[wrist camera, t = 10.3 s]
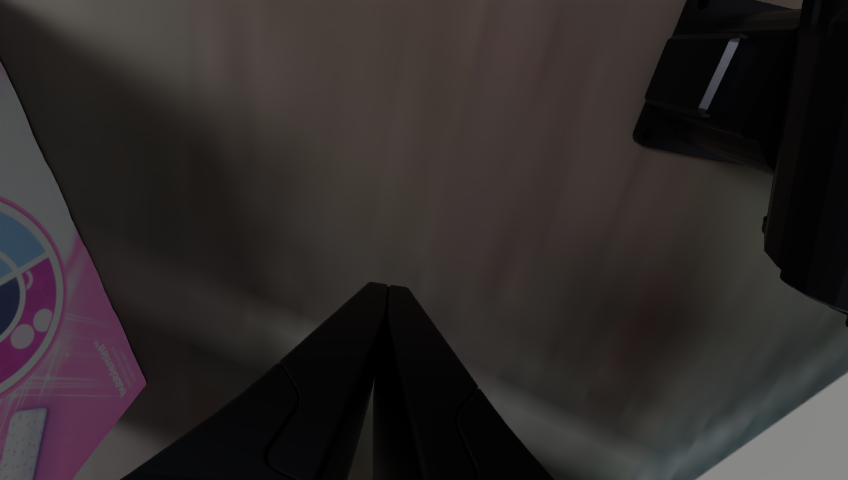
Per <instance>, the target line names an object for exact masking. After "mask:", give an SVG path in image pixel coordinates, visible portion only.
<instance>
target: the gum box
mask: <svg viewBox="0 0 848 480" xmlns="http://www.w3.org/2000/svg"><path fill="white" fill-rule="evenodd" d="M146 384H147V383H146V381H145V378H144V376H143V374H142V372H141V370H140V367H139V365H138V363H137V361H136V359H135V357H134V354H133V352H132V350H131V347H130V345H129V342H128V340H127V337H126V335H125V333H124V330H123V328H122V326H121V323H120V321H119V319H118V317H117V315H116V313H115V312H114V310H113V308H112V306H111V304H110V302H109V299H108V297H107V295H106V293H105V291H104V288H103V285H102V283H101V280H100V277H99V275H98V273H97V270H96V268H95V266H94V264H93V262H92V259H91V257H90V255H89V253H88V251H87V249H86V247H85V246H84V244H83V242H82V240H81V238H80V236H79V234H78V232H77V230H76V227H75V225H74V223H73V221H72V219H71V217H70V214H69V210H68V207H67V205H66V203H65V200H64V198H63V196H62V194H61V191H60V189H59V186H58V184H57V182H56V180H55V178H54V176H53V174H52V172H51V170H50V169H49V167H48V165H47V163H46V162H45V160H44V157H43V155H42V153H41V151H40V149H39V147H38V145H37V142H36V140H35V138H34V136H33V134H32V131H31V128H30V126H29V123H28V120H27V118H26V115H25V113H24V110H23V108H22V106H21V104H20V101H19V99H18V97H17V94H16V92H15V90H14V88H13V86H12V84H11V82H10V80H9V78H8V76H7V74H6V71H5V69H4V67H3V66H2V64H1V62H0V480H72V479H73V478H74V476H75V475H76V474H77V473H78V471H79V470H80V469H81V467H82V466H83V465H84V463H85V462H86V460H87V459H88V458H89V456H90V455H91V454H92V452H93V451H94V450H95V448H96V447H97V446H98V445H99V443H100V442H101V441H102V440H103V438H104V437H105V436H106V435H107V433H108V432H109V431H110V430H111V429H112V427H113V426H114V425H115V424H116V422H117V421H118V420H119V419H120V417H121V416H122V415H123V413H124V412H125V411H126V410H127V408H128V407H129V406H130V405H131V403H132V402H133V401H134V400H135V398H136V397H137V395H138V394H139V393H140V392H141V390H142V389H143V388H144V387H145V386H146Z"/></svg>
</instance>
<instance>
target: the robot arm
mask: <svg viewBox="0 0 848 480" xmlns="http://www.w3.org/2000/svg"><path fill="white" fill-rule="evenodd" d="M697 2H698V0H687V1H686V3H685V6H684V8H683V11H682V13H681V16H680V18H679V21H678V23H677V26H676V28H675V30H674V33H673V35H672V37H671V38H670V39H668V40H667V42H666V45H665V47H664V50H663V52H662V55H661V57H660V60H659V62H658V65H657V67H656V70H655V72H654V75H653V77H652V79H651V82H650V84H649V87H648V89H647V92H646V94H645V100H646V102H645V104H644V107H643V109H642V112H641V114H640V117H639V119H638V122H637V124H636V126H635V129H634V131H633V140H634V141H635V142H636V143H638V144H641V145H643V146H648V147H653V148H658V149H663V150H668V151H674V152H679V153H684V154H689V155H694V156H699V157H704V158H709V159H715V160H720V161H725V162H730V163H735V164H740V165H745V166H749V167H752V168H754V169H757V170H760V171H762V172H765V173H768V174H771V175H773V176H774V178H773V184H772V190H771V196H770V202H769V208H768V214H767V216H765V217H764V218H763V224H762V232H763V233H764V251H765V252H766V253H767V254H768V256H769V257H770V258H771V259H772V260H773V262H774V263H775V264H776V265H777V266H778V267H779V268H780V269H781V274H780V278H781V280H782V281H784V282H785V283H786V284H788V285H789V286H791V287H792V288H794V289H796V290H797V291H799V292H801V293H802V294H804V295H806V296H807V297H809V298H811V299H814V300H816V301H818V302H821V303H823V304H825V305H827V306H829V307H830V308H832V309H835V310H837V311H839V312H841V313H843V314H846V315H847V319H846V322H845V324H846V326H847V327H848V0H803V3H802V9H789V8H785V7H781V6H777V5H773V4H769V3H764V2H760V1H756V0H703V6H702V7H701V9H698V8H697ZM646 130H648V131H649V132H648V135H647V137H645V138H644V139H643V138H642V134H643V132H644V131H646ZM374 377H375V378H374ZM373 383H374V388H373ZM372 388H373V480H554V479H553V478H552V476H551V475H550V474H549V473H548V472H547V471H546V470H545V469H544V467H543V466H542V465H541V464H540V463H539V462H538V461H537V460H536V458H535V457H534V456H533V455H532V454H531V453H530V452H529V450H528V449H527V448H526V447H525V446H524V445H523V443H522V442H521V441H520V440H519V439H518V437H517V436H516V435H515V434H514V433H513V431H512V430H511V429H510V428H509V427H508V426H507V424H506V423H505V422H504V420H503V419H502V418H501V416H500V415H499V414H498V412H497V411H496V410H495V408H494V407H493V406H492V404H491V403H490V402H489V400H488V399H487V397H486V396H485V395H484V393H483V392H482V390H481V389H478V385H477V384H476V382H475V381H474V380H473V378H472V377H471V375H470V374H469V372H468V371H467V370H466V368H465V367H464V365H463V364H462V363H461V361H460V360H459V358H458V357H457V356H456V354H455V353H454V351H453V350H452V349H451V347H450V346H449V344H448V343H447V342H446V340H445V339H444V337H443V336H442V335H441V333H440V332H439V330H438V329H437V328H436V326H435V325H434V323H433V322H432V321H431V319H430V318H429V316H428V315H427V314H426V312H425V311H424V309H423V308H422V306H421V305H420V304H419V302H418V301H417V299H416V298H415V297H414V295H413V294H412V292H411V291H410V290H409V288H407V287H403V286H396V285H390V286H389V287H388V286H387V285H386V284H382V283H376V282H369V283H367V284H366V285H365V286H364V287H363V288H362V289H361V290H359V291H358V292H357V293H356V294H355V295H354V296H353V297H352V298H350V299H349V300H348V301H347V302H346V303H345V304H344V305H343V306H341V307H340V308H339V309H338V310H337V311H336V312H335V313H333V314H332V315H331V316H330V317H329V318H328V319H327V320H326V321H324V322H323V323H322V324H321V325H320V326H319V327H318V328H317V329H315V330H314V331H313V332H312V333H311V334H310V335H309V336H308V337H306V338H305V339H304V340H303V341H302V342H301V343H300V344H298V345H297V346H296V347H295V348H294V349H293V350H292V351H291V352H289V353H288V354H287V355H286V356H285V357H284V358H283V359H282V360H280V361H279V364H275V365H274V366H273V367H272V368H271V369H270V370H269V371H268V372H267V373H265V374H264V375H263V376H262V377H261V378H260V379H258V380H257V381H256V382H255V383H253V384H252V385H251V386H250V387H249V388H247V389H246V390H245V391H244V392H243V393H241V394H240V395H239V396H237V397H236V398H235V399H233V400H232V401H231V402H229V403H228V404H227V405H225V406H224V407H223V408H221V409H220V410H219V411H217V412H216V413H214V414H213V415H212V416H210V417H209V418H208V419H206V420H205V421H203V422H202V423H200V424H199V425H198V426H196V427H195V428H193V429H192V430H190V431H189V432H188V433H186V434H185V435H183V436H182V437H180V438H179V439H178V440H176V441H175V442H173V443H172V444H170V445H169V446H168V447H166V448H165V449H163V450H162V451H161V452H159V453H158V454H156V455H155V456H153V457H152V458H151V459H149V460H148V461H146V462H145V463H143V464H142V465H141V466H139V467H138V468H136V469H135V470H133V471H132V472H131V473H129V474H127V475H126V476H124V477H123V478H121V479H120V480H348V477H349V474H350V470H351V466H352V463H353V459H354V455H355V452H356V448H357V444H358V441H359V437H360V433H361V430H362V426H363V422H364V419H365V415H366V411H367V408H368V404H369V401H370V397H371V392H372Z"/></svg>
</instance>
